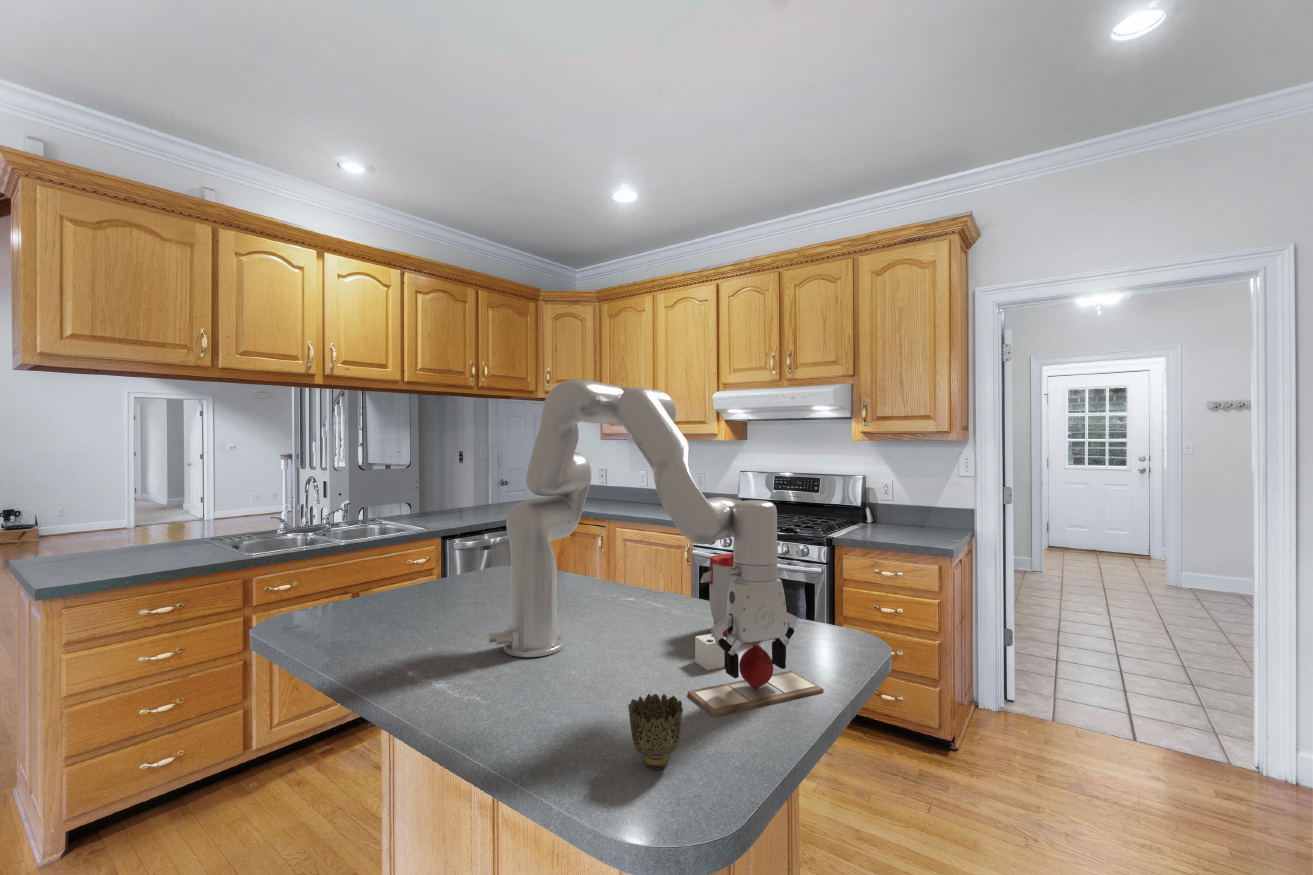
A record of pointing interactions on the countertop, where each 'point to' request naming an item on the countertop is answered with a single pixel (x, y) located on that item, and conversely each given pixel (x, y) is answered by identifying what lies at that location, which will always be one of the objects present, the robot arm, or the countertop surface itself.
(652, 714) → the cup
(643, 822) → the countertop surface
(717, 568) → the citrus juicer
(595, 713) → the countertop surface
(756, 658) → the onion
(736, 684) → the brown flat rectangular frame
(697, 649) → the die
